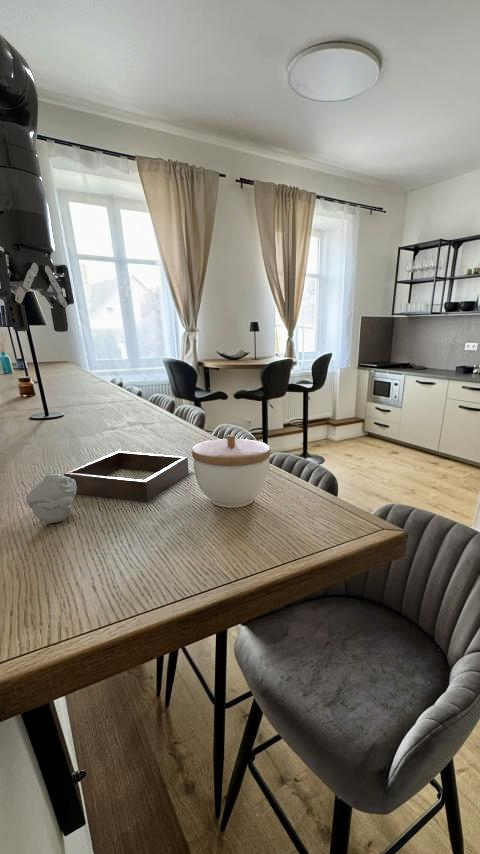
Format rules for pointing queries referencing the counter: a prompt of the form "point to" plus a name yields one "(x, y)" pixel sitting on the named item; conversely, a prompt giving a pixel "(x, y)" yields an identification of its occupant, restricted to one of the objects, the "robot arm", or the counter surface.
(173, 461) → the square wooden tray
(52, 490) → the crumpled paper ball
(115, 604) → the counter surface
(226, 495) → the lidded bowl
